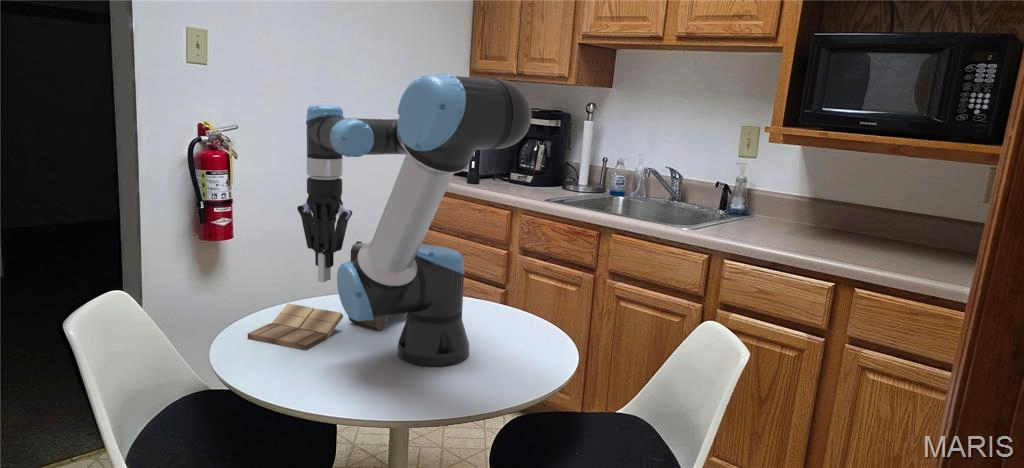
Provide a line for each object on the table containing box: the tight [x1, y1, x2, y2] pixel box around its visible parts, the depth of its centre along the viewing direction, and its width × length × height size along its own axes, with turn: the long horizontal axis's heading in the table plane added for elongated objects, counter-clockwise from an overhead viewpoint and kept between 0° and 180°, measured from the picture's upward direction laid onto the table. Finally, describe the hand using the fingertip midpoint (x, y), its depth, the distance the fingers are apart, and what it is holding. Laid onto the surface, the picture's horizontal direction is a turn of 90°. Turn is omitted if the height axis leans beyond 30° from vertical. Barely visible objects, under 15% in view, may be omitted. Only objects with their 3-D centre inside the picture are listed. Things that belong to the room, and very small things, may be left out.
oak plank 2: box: [300, 307, 344, 338], centre depth 152 cm, size 7×6×1 cm
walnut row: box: [247, 322, 328, 351], centre depth 147 cm, size 15×8×1 cm, turn 71°
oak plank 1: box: [271, 303, 315, 329], centre depth 154 cm, size 7×6×1 cm
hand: (324, 280), depth 152 cm, fingers closed
